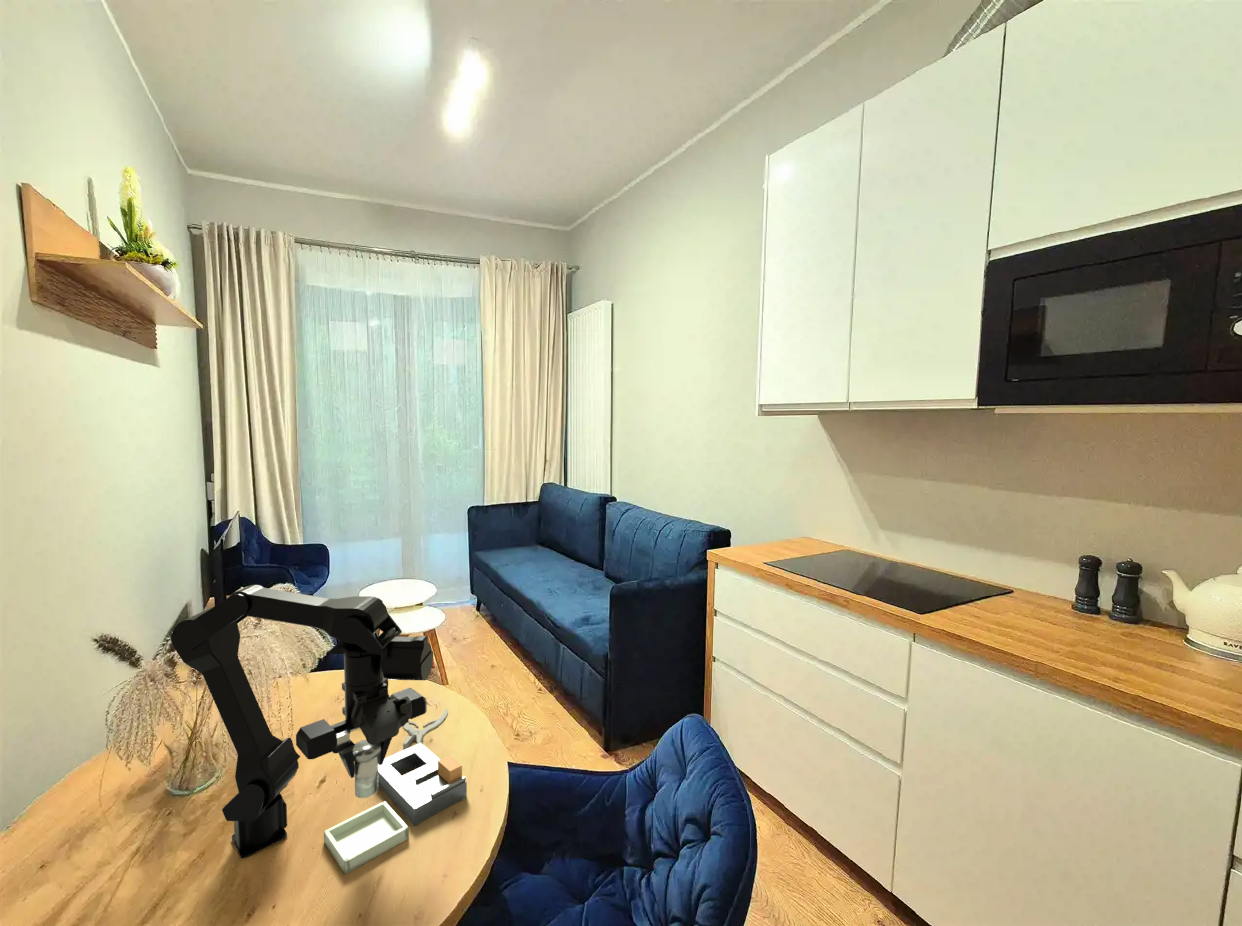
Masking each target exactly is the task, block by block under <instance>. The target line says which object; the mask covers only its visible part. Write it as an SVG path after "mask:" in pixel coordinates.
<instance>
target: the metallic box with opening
mask: <svg viewBox="0 0 1242 926" xmlns="http://www.w3.org/2000/svg"><path fill="white" fill-rule="evenodd" d="M441 759H442V758H441ZM441 759H440V757H438V756H437V755H436V754H435V753H434V752H432V750H431V749H429V748H428V747H427V746H425V745H424V744H423V743H421V742H420V743H418V744H417V743H416V744H413V745H412V746H408V747H407V748H406V749H402V750H400V751H398V752H396V753H393V754H391V755H389V756H385V759H384V761H383V764H382V765H379V764H378V789H380V790H381V791H382V792H383V793H384V794H385V795H386V796H387V798H388V799H389V800H390V801H391V802H392V803H393V805H395V806H396V808H397V809H399V811H401V812H402V814H403V815H404V816H405V817H406V818H407V819H408V820H409V821H410V823H411V824H412V825H413V826H417V825H419V824H421V823H423V822H425V821H426V820H428V819H430V818H431V817H433V816H435V815H438V814H439V813H440V812H441V813H442V811H444V810H446V809H448V808H449V807H452V806H453V805H455V804H457V803H458V802H460V801H462V800H464V799H466V798H468V796H467V794H468V793H467V792H468V791H467V789H468V788H467V785H468V784H467V781H466V776H465V775H462V777H461V778H459V779H457V780H455V781H453V782H451V783H448V782H447V781H446V780H445V779H444V778H442V777H441V776H440V775H439V774H438V761H439V760H441ZM412 769H414V770H412ZM409 770H411V771H409ZM408 771H409V772H408ZM403 773H404V774H403ZM401 774H403V775H401Z"/></svg>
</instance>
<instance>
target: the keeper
mask: <svg viewBox="0 0 1242 926" xmlns="http://www.w3.org/2000/svg"><path fill="white" fill-rule="evenodd" d="M438 774H439V775H440V776H441V777H442V778H444V779H445V780H446V781H447V782H448V783H451V782H453V781H455V780H457V779H459V778H461V777H463V765H462V764H461V763H460V762H458V761H457V760H456V758H454V757H453V756H451V755H450V754H449V755H447V756H445V757H443V758H441V760H439V761H438Z"/></svg>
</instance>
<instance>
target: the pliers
mask: <svg viewBox="0 0 1242 926" xmlns="http://www.w3.org/2000/svg"><path fill="white" fill-rule="evenodd" d="M448 713H449V708H445V710H444V711H443V713H442V714H441V716H440V717H439V718H437V719H433V720H431V721H428V722H426V723H425V724H423V725H422V727H423V729H421V728H420V729H419V725H418V724H417V723H416V722H415V721H410V720H409V722H408V723H406V724H405V725H404V726H402V728H403V730H404V731H406V732H407V733H408V735H407V736H406V738H405V739H404V741H403V743H402V750H405V749H407V748H409V747H410V745H411V744H412V743H413V742H414V741H416V744H418V743H420V742H421V743H422V742H423V741H424V740H423V739H424V737H425V735H427V733H429V732H431V731H432V730H434V729H436V728H438V727H439V726H440V725H441V724H443V723H444V721H445V720H446V718H447V716H448ZM415 727H416V728H415ZM422 744H423V743H422Z"/></svg>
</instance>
